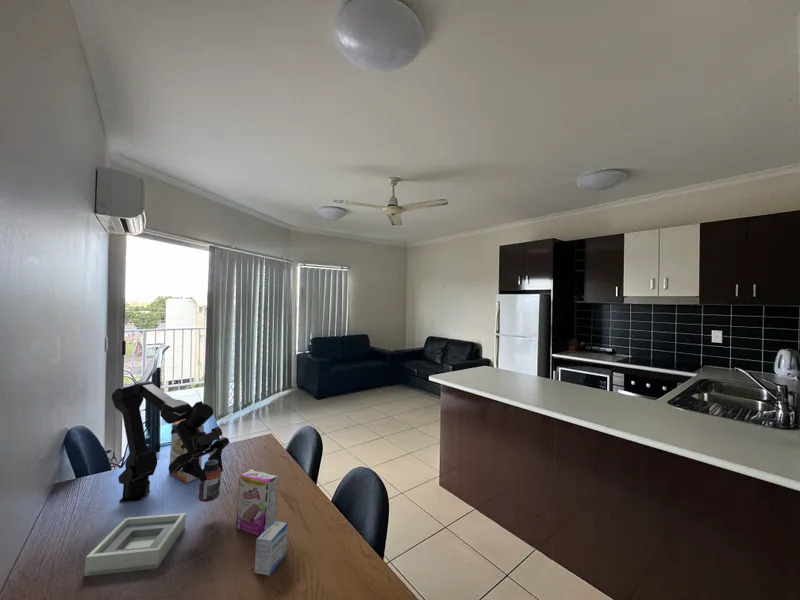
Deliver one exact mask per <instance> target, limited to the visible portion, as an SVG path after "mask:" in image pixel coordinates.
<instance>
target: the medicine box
mask: <svg viewBox="0 0 800 600" xmlns="http://www.w3.org/2000/svg"><path fill="white" fill-rule="evenodd" d="M287 539H288V523H287V522H284V521H278V520H275V521H274V522H273V523H272V524H271V525H270V526H269V527H268V528H267V529H266V530H265V531H264V532H263V533H262V534H261V535H260V536H257V538H256V540H255V541H256V542H255V543H256V545H255V557H254V558H255V559H254V573H255V574H258V575H259V574H260V575H263V576H264V575H265V576H269V577H270V576H271V574H272V573H273V571H275V569H276V567H278V565H279V564H280V562H281V561H282V560H283V559H284V557H285V556H286V555H287Z"/></svg>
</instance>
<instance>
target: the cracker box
mask: <svg viewBox="0 0 800 600" xmlns="http://www.w3.org/2000/svg"><path fill="white" fill-rule="evenodd" d="M184 420H185V419H184ZM181 421H182V420H181ZM181 421H178V422H174V423H171V424H172V425H171V426H172V429H173V426H174V425H177V424H178V423H179V422H181ZM172 429H171V430H172ZM204 429H205V426H204V424H203V425H202V426H201V427H199V430H200V432H203V431H204V432H205V430H204ZM170 439H171V440H170V452H169V464H168V466H169V465H170V464H171V463H172V462H173V461H174V460H175V459H176V458H177V457H178V456H180V455H182V454H185V453H187V450H186V449H185V448H183V449H182V448H181V445H182V444H183V443H182V441H181V440H180V438H179V436H178V434H177V433H175V434H171V438H170ZM202 459H203V456H202V457H199V464H200V466H201V467H202ZM182 469H183V468H182V467H181V470H182ZM181 470H180V471H181ZM180 471H178V472H176V473H173V474H171V473H170V472H169V471H168V473H169V474H170V475H171V476H173V477H174V478H177V479H178V480H179V481H181V482H183V483H184V484H188V483H191V482H193V481H195V480H198V478H196V477H194V476H192V475H190V474H187V473H185V472H182V473H181V472H180Z"/></svg>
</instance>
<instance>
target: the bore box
mask: <svg viewBox="0 0 800 600" xmlns="http://www.w3.org/2000/svg"><path fill="white" fill-rule="evenodd" d="M186 517H187V513H186V512H183V513H181V512H180V513H169V514H159V515H144V516H132V517H125V518H124V519H123V520H122V521H121V522H119V524H118V525H117V526H115V528H113V530H112V531H110V533H109V534H108V535H107V536H105V538H104V539H102V541H101V542H99V544H98V545H96V547H95V548H93V549H92V550H91V551H90V552H89V553H88V555H86V557H85V561H84V571H83V572H84V573H83V577H89V576H91V577H92V576H99V575H108V573H109V574H116V573H117V574H118V573H126V572H133V571H134V572H135V571H144V570H153V569H154V570H155V569H158V568H159V567H160V566H161V564H162V562H163V561H164V559H165V558H166V557H167V555H168V553H169V552H170V551H171V549H172V548H173V546H174V545H175V544H176V542H177V541H178V539H179V538H180V536H181V535H182V533H183V531H184V530H185V527H186Z"/></svg>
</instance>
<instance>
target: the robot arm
mask: <svg viewBox="0 0 800 600" xmlns="http://www.w3.org/2000/svg"><path fill="white" fill-rule="evenodd" d="M111 400H112V402H113V406H114V408H115V409H117V411H119V412H120V413H121V415H122V418H123V419H122V420H123V425H124V431H125V437H126V442H127V447H128V452H129V453H128V456H127V458H126V461H125V463H124V464H125V465H124V466H125V469H124V470H123V472H121V473H120V474H119V476H117V477H118V483H119V484H121V485H123V487H122V489H123V490H122V498H120V499H119V500H118V501H119V503H124V502H125V503H126V502H127V503H128V502H140V501H142V500H143V499H144V498H145V497H146V496H147V495H148V494H149V493H150V492H151V490H150V486H151V485H150V484H151V481H150V480H149V479H150V476H153V475H155V471H156V468H157V466H158V461H159V460H158V458H157V451H156V450H155V449H150V448H149V447H148V445H147V439H146V434H145V430H144V429H145V428H144V423H143V419H142V413H141V406H142V404H143V401H144V400H146V401H147V402H148V403H149V404H151V405H152V406H153V407H155V408H156V409H158V410H159V412H160V413H159V414H160V416H159V417H161V418H162V420H163V421H164V422H165V423H167V424H169V425H170V424H172V423H174V422H178V421H181V420H182V421H181V422H179V423H178V424H177V425H174V426H173V429H171V431H170V434H171V435H172V434H175V433H177V434H178V436H179V438H180V440H181V441H182V443H183V444H182V445H181V448H182V449H183V448H185V449H186V450H187V453H185V454H182V455H180V456H178V457H177V458H176V459H175V460H174V461H173V462H172V463H171V464H170V463H169V464H170V465H169V464H168V473H169V472H170V473H171V474H170V473H169V474H170V475H172V474H173V473H176V472H178V471H180V470H181V467H182V468H183V469H182V470H181V471H180V472H181V473H182V472H185V473H187V474H190V475H192V476H194V477H196V478H198V479H199V481H200V480H202V481H203V482H204V481H206V480H207V478H206V476H205V474H204V472H203V468H202V465H201V466H200V464H199V457H202V458H203V456H206V455H208V456H209V457H208V458H207V461H209V460H218V461H219V463H218V464H219V465H218V466H219V467H220V468H221V473H222V472H223V471H224V469H223V461H222V460H223V459H222V454H223V453H222V452H223V450H224V449H225V448H226V447H227V446H228V445H229V444H230V443H231V442H230V440H229V438H228V437H226V436H223V430H222V428H221V427H220V426H217V427H214V428H212V429H211V430H210V431H211V432H209V433H206V431H205V430H204V431H203V432H200V430H199V427H201V426H202V425H203V426H204V424H205V423H206V422H208V420H209V419H210V418H211V417H212V416H213V415H214V409H213V407H212V406H210V405H209V404H206V403H203V401H202V400H201V401H197V402H195V403H194V404H193V405H191V404H190V403H189V402H187V401H184V400H181V399H176V398H173V397H172V396H170V395H169V394H167V393H166V392H165V391H163V390H162V389H161V388H159V387H158V386H156V385H155V383H154V382H153V381H150V380H147V381H141V382H140V381H139V382H137V383H135V384H132V385H129V386H125V387H124V386H123V387H118V388H115V390H114V392H112V394H111ZM184 419H185V420H184ZM221 436H223V437H221ZM198 479H197V480H198Z"/></svg>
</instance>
